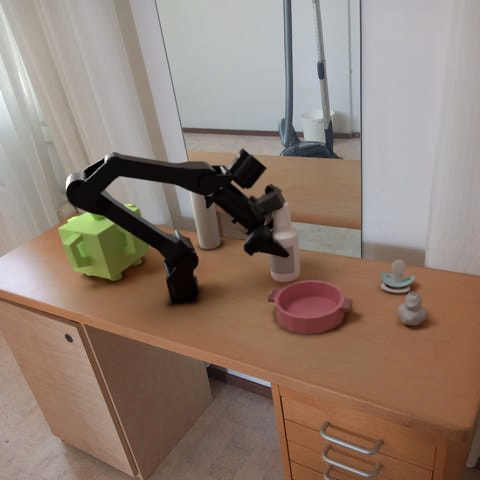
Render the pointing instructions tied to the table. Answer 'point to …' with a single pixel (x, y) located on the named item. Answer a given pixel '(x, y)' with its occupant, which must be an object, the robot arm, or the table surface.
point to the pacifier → (396, 278)
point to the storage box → (101, 245)
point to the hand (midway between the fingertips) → (289, 249)
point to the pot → (310, 306)
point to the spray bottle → (288, 239)
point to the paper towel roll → (205, 222)
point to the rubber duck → (412, 310)
